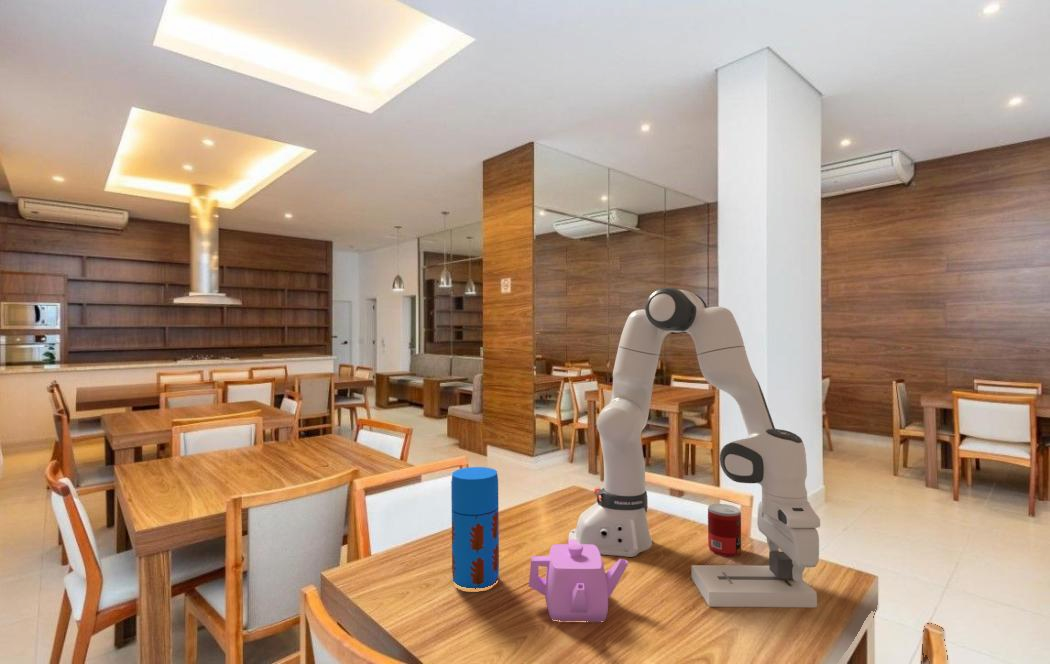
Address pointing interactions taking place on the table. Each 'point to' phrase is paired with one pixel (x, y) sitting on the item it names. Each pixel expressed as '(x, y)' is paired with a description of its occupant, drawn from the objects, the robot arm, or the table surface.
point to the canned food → (724, 529)
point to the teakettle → (575, 581)
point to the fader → (780, 564)
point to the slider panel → (750, 587)
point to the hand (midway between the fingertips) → (785, 568)
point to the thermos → (475, 527)
